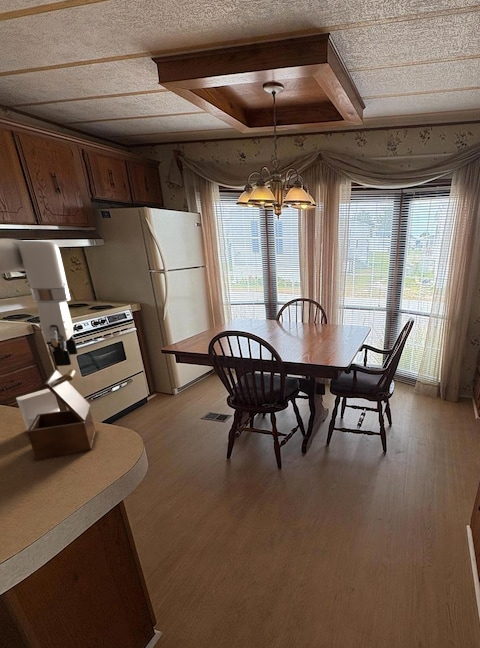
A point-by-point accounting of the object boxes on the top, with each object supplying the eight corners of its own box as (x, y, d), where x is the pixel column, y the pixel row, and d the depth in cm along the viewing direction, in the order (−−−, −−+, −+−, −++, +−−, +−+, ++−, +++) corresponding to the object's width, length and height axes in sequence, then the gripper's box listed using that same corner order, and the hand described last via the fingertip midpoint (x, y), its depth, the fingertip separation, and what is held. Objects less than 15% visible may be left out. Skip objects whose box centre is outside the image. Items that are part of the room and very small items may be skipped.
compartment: (36, 459, 92) (26, 431, 89) (45, 440, 101) (37, 414, 98) (91, 449, 98) (83, 422, 94) (95, 432, 106) (89, 407, 103)
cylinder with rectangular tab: (54, 419, 113) (44, 385, 108) (70, 426, 109) (60, 392, 105) (22, 431, 105) (9, 395, 101) (37, 439, 102) (25, 402, 97)
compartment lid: (44, 384, 87) (64, 374, 88) (53, 371, 96) (71, 361, 97) (82, 422, 94) (100, 412, 95) (87, 406, 103) (104, 397, 104)
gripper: (41, 290, 91) (57, 351, 97) (21, 300, 77) (42, 371, 83) (75, 289, 94) (88, 349, 100) (62, 299, 80) (79, 368, 86)
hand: (67, 359), depth 92 cm, fingers open, 9 cm apart
